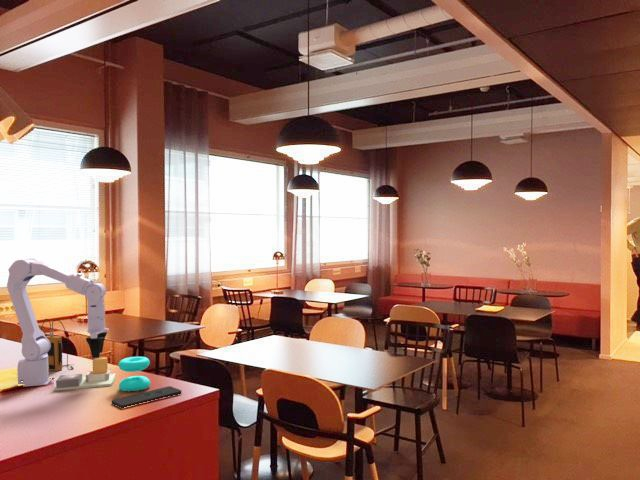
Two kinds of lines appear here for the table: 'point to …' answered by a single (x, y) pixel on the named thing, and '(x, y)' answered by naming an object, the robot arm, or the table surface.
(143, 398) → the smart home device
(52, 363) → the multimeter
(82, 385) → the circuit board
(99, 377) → the frame
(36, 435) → the table surface
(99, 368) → the plug
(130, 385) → the donuts
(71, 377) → the grey dome button
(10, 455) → the table surface
